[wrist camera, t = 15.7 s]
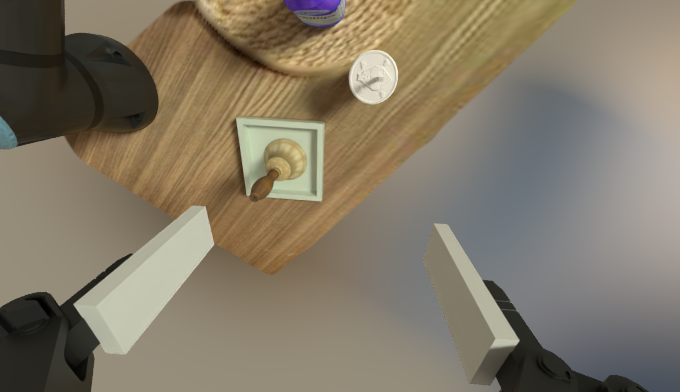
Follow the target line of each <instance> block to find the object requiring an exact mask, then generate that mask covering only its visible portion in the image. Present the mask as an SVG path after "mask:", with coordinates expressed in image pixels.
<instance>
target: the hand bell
mask: <svg viewBox="0 0 680 392" xmlns="http://www.w3.org/2000/svg"><path fill="white" fill-rule="evenodd" d="M264 162H265V165H266V166H265V169H266V173H267V175H266V176H264V177H261V178H259V179H258V180H257V181H256V182H255V183H254V184H253V186H252V188H251V193H250V196H249V197H250V200H252V201H254V202H257V201H258V200H260V199H263V198H265V197H266V196H268V195H269V193H270V192H271V190H272V188H273V185H274V181H284V180H293V179H296V178H298V177H300V176H301V175H302V174H303V173H304V171H305V169H306V166H307V158H306V154H305V152H304V150H303V149H302V147H301V146H300V145H299V144H297V143H296V142H294V141H292V140H290V139H284V138H282V139H276V140H274V141H272V142H271V143H270V144H269V145H268V146H267V147H266V149H265V152H264Z"/></svg>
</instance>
